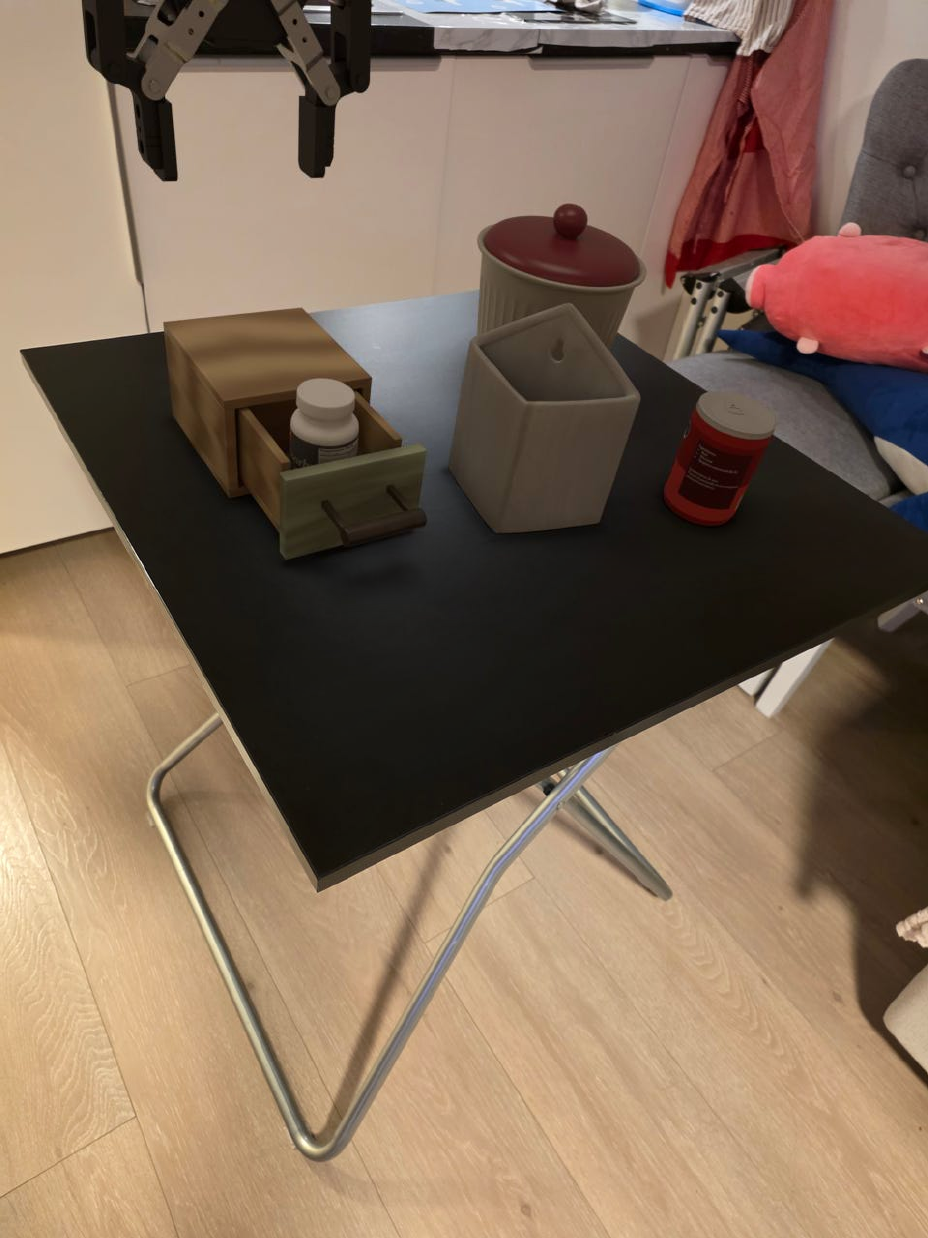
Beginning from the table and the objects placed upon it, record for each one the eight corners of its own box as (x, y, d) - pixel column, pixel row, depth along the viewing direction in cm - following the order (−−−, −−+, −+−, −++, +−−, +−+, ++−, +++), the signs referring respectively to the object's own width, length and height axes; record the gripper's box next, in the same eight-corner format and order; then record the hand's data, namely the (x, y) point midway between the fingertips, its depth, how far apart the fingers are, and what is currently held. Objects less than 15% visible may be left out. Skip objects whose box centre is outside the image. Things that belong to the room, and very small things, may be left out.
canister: (493, 343, 104) (527, 164, 89) (623, 391, 99) (681, 211, 85) (427, 396, 91) (454, 197, 77) (572, 454, 87) (630, 255, 73)
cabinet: (365, 468, 79) (372, 377, 72) (229, 498, 72) (223, 400, 65) (300, 395, 87) (301, 306, 80) (172, 416, 80) (162, 321, 74)
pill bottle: (279, 480, 72) (279, 378, 65) (338, 469, 74) (344, 370, 68) (303, 517, 69) (305, 414, 62) (364, 505, 71) (373, 405, 64)
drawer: (447, 560, 69) (461, 484, 64) (313, 600, 63) (316, 520, 58) (346, 446, 79) (351, 372, 74) (223, 471, 73) (218, 393, 68)
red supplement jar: (708, 480, 87) (748, 388, 80) (747, 525, 82) (794, 431, 75) (647, 484, 85) (682, 390, 77) (684, 531, 80) (726, 435, 72)
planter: (416, 503, 76) (445, 302, 63) (450, 464, 82) (482, 273, 68) (577, 564, 73) (642, 367, 60) (600, 520, 79) (664, 331, 65)
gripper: (339, -213, 39) (326, 154, 50) (22, -291, 32) (88, 154, 44) (417, -200, 35) (384, 195, 46) (73, -286, 28) (131, 203, 39)
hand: (241, 175), depth 45 cm, fingers open, 8 cm apart
